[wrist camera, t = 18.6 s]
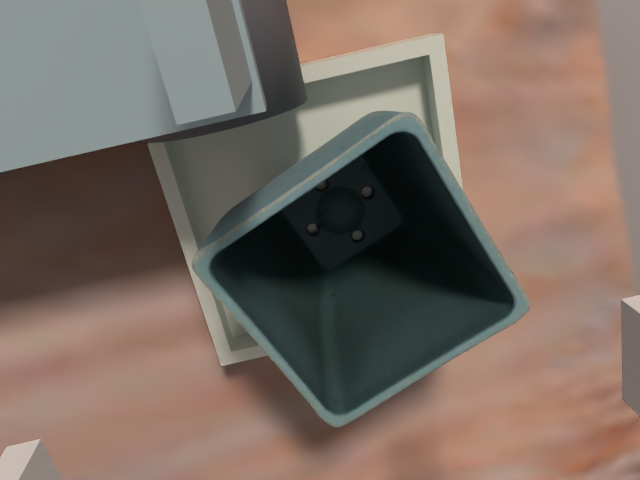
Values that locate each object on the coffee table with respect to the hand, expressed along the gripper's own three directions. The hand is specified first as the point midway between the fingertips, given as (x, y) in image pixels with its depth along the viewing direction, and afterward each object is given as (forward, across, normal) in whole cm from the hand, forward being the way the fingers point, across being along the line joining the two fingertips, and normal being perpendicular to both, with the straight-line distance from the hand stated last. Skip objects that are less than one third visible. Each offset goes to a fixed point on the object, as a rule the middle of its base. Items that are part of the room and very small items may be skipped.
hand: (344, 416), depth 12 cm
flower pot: (+16, +2, 0) cm, 16 cm away
